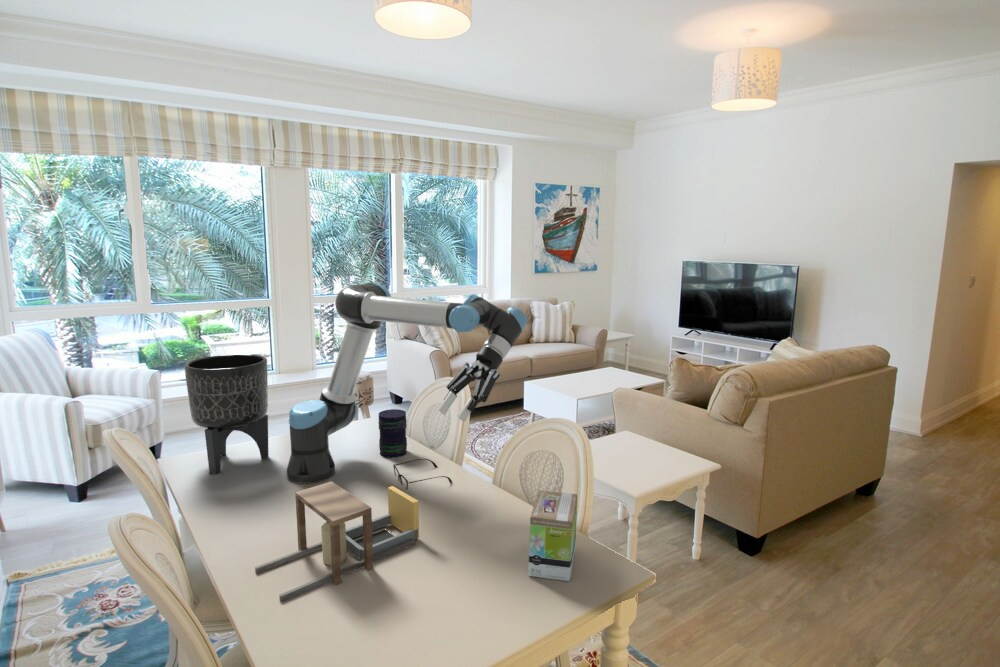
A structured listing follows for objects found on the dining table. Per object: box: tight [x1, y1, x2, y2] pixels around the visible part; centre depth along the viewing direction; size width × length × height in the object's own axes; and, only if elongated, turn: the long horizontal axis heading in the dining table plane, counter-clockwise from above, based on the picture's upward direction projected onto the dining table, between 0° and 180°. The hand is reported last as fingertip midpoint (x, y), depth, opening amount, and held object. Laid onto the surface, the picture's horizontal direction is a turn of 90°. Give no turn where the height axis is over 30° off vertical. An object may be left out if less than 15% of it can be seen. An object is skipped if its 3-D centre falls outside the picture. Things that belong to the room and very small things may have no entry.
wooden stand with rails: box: [254, 481, 416, 602], centre depth 136 cm, size 20×34×15 cm, turn 133°
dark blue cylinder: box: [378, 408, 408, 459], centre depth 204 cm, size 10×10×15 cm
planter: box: [184, 353, 270, 475], centre depth 193 cm, size 25×25×36 cm
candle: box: [320, 521, 348, 566], centre depth 135 cm, size 6×6×10 cm
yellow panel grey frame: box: [346, 485, 420, 561], centre depth 144 cm, size 12×16×10 cm
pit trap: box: [353, 527, 397, 548], centre depth 144 cm, size 10×12×1 cm
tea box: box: [527, 490, 578, 582], centre depth 135 cm, size 15×10×15 cm, turn 168°
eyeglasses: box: [392, 458, 453, 490], centre depth 183 cm, size 16×16×4 cm
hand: (450, 415), depth 161 cm, fingers open, 8 cm apart
